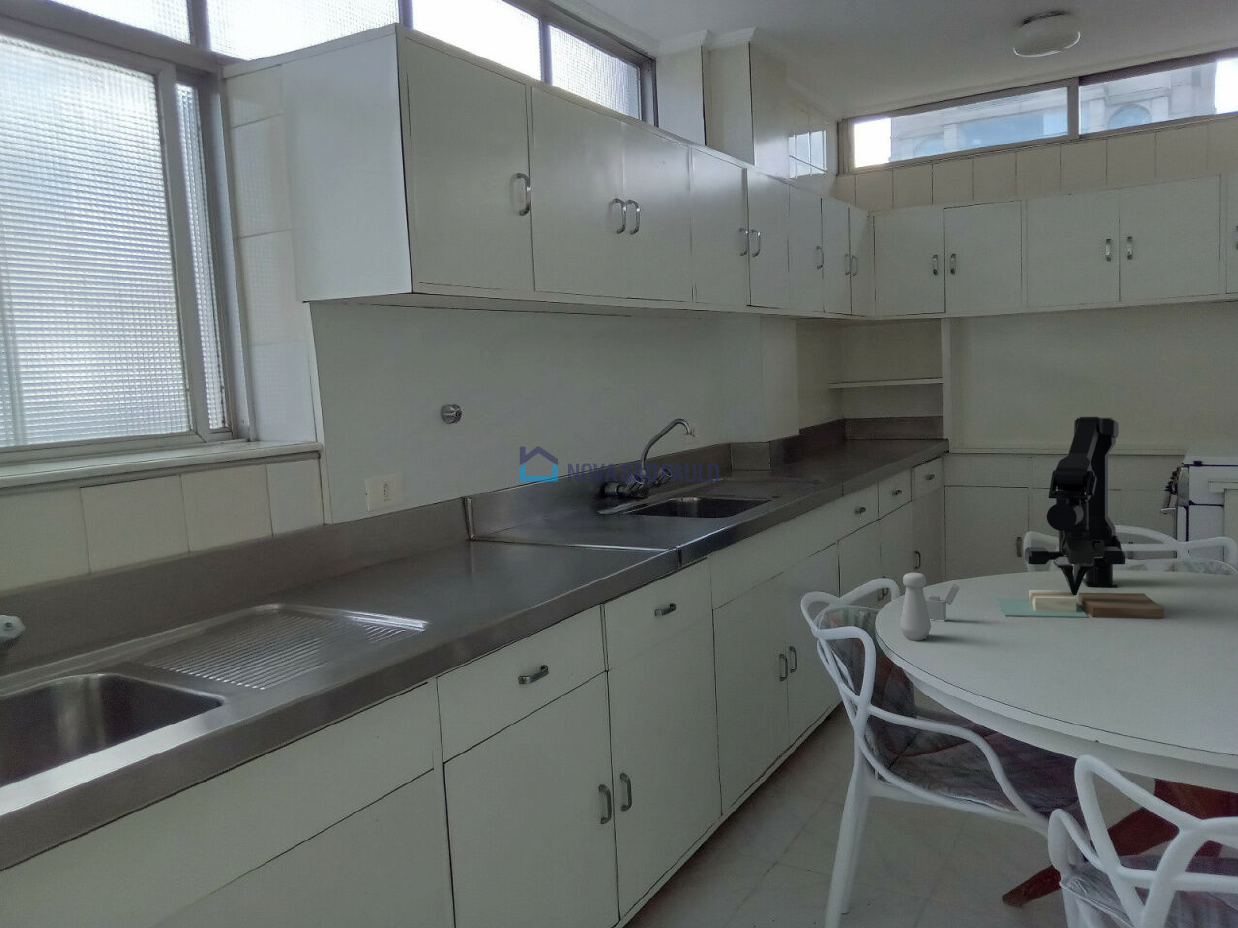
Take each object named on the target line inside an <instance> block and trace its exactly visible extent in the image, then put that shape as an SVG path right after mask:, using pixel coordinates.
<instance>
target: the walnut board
mask: <svg viewBox="0 0 1238 928" xmlns="http://www.w3.org/2000/svg"><path fill="white" fill-rule="evenodd" d="M1078 603H1079V604H1080V605H1081V606H1082V607H1083V608H1084V609H1085V610H1086V611H1087V613H1088V614H1090V616H1091V617H1092V618H1112V619H1113V618H1117V619H1120V618H1122V619H1123V618H1124V619H1125V618H1126V619H1162V620H1163V619H1164V608H1163V607H1161V606H1160V605H1159V604H1158V603H1157V602H1155V600H1152V599H1151V598H1150V597H1149V596H1148V595H1147V594H1145V593H1138V592H1137V593H1131V592H1128V593H1126V592H1125V593H1123V592H1078Z"/></svg>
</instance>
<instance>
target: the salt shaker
mask: <svg viewBox="0 0 1238 928" xmlns="http://www.w3.org/2000/svg"><path fill="white" fill-rule="evenodd" d="M902 583H903V585H904V586H905V593H904V594H905V595H904V598H903V599H904V600H903V608H902V614H901V619H900V629H901V631H902V633H903V636H904V638H905V637H906V640H910V641H916V640H919V641H924V640H923V639H925V640H927V638H928V635H929V633H930V631H931V629H932V624H931V621H930V619H929V614H928V610H927V606H926V601H925V599H926V597H925V594H924V589H923V587H925V586H926V583H927V577H926V576H925V575H924V574H923V573H919V572H909V573H905V574H904V575H903V578H902Z"/></svg>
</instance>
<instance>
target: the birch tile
mask: <svg viewBox="0 0 1238 928" xmlns="http://www.w3.org/2000/svg"><path fill="white" fill-rule="evenodd" d="M1028 596H1029V598H1028V599H1029V603H1030V605H1031V606H1032V608H1033V609H1034V610H1035V611H1036V612H1076V603H1077V598H1076V595H1073V594H1072V593H1071V591H1070V589H1066V590H1065V589H1064V590H1063V589H1062V590H1061V589H1029V590H1028Z"/></svg>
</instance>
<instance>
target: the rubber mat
mask: <svg viewBox="0 0 1238 928" xmlns="http://www.w3.org/2000/svg"><path fill="white" fill-rule="evenodd" d="M995 601H996V602H997V604H998V606H999V605H1000V606H999V608H1000V607H1001V608H1000V610H1001V611H1002V613H1003V615H1004V617H1025V618H1026V617H1031V618H1034V617H1036V618H1037V617H1038V618H1081V619H1082V618H1083V619H1084V618H1085V619H1086V618H1089V616H1088V615H1087V614H1086V612H1085V611H1084V610H1083V609H1082V608H1081V607H1080V605H1079V604H1078V603H1077V602H1076V612H1036V611H1035V610H1034V609H1033V608H1032V606H1031V605H1030V603H1029V598H1000V597H999V598H995Z"/></svg>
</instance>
